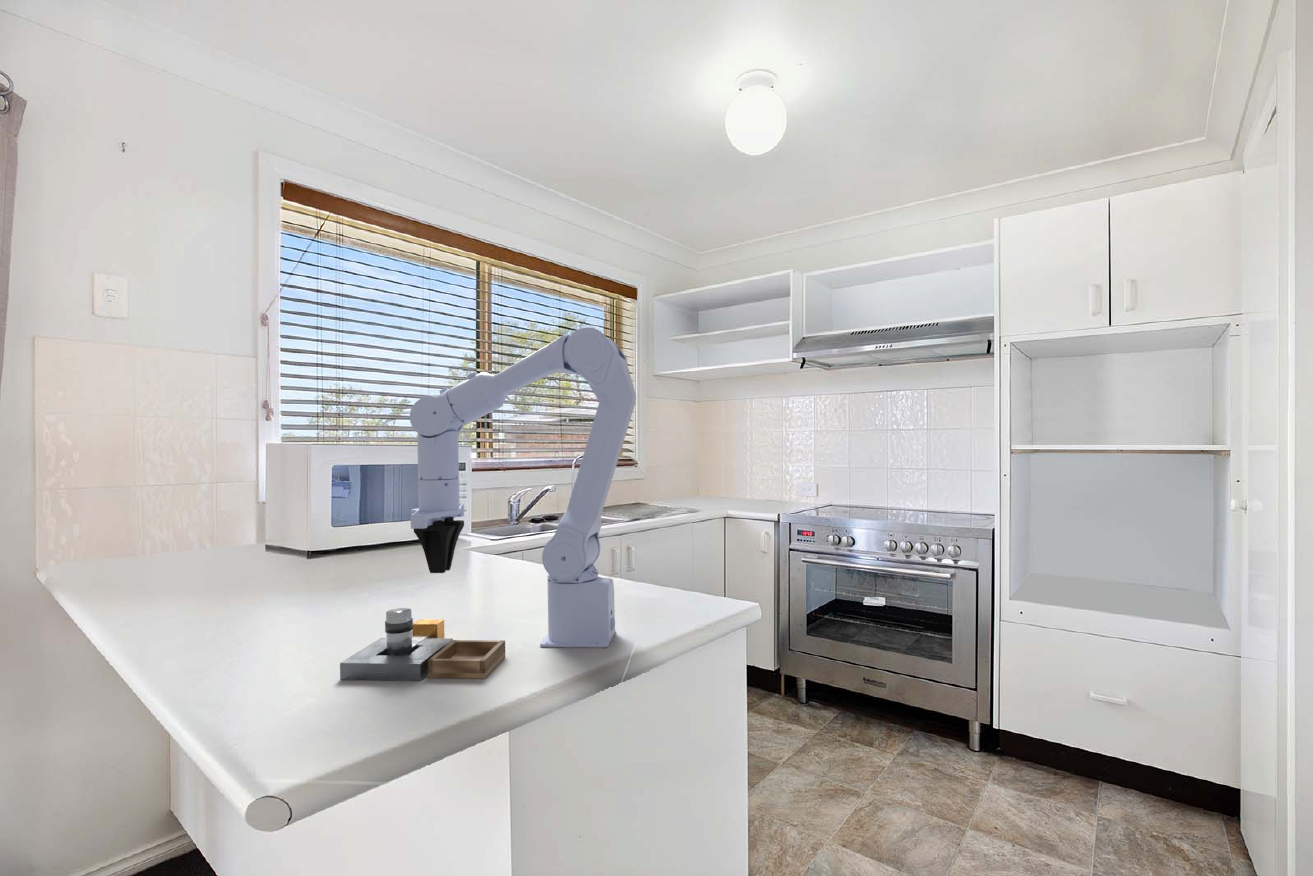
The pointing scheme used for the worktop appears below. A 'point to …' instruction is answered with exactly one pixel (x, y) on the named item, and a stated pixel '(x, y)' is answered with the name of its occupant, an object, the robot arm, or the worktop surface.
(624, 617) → the worktop surface
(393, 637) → the silver metal canister
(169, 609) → the worktop surface
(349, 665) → the socket
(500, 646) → the square wooden tray
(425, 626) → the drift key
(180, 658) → the worktop surface
